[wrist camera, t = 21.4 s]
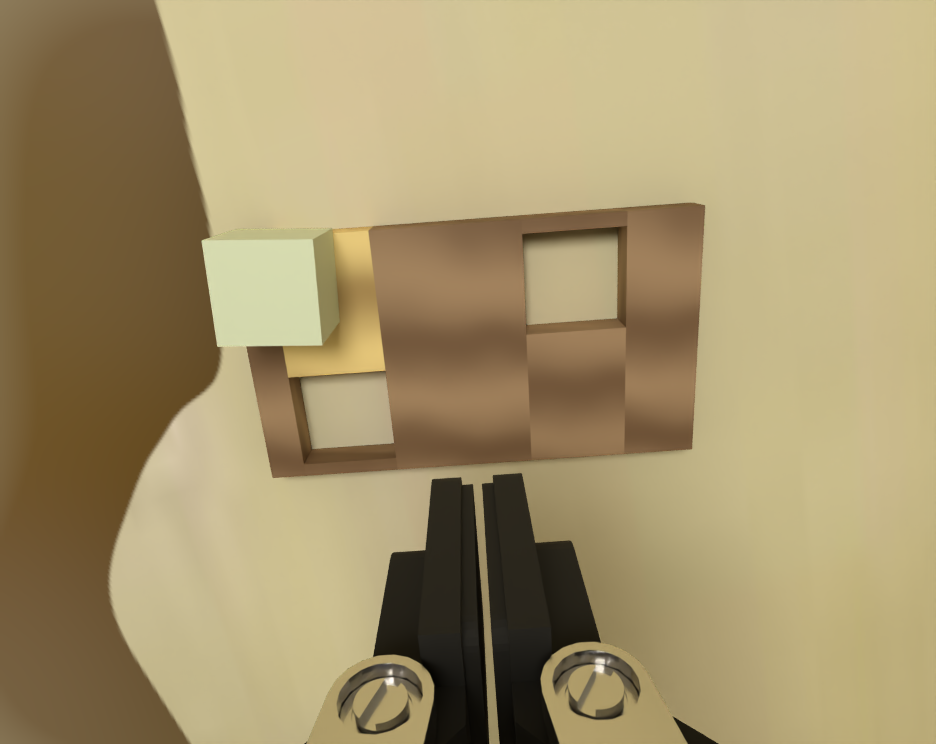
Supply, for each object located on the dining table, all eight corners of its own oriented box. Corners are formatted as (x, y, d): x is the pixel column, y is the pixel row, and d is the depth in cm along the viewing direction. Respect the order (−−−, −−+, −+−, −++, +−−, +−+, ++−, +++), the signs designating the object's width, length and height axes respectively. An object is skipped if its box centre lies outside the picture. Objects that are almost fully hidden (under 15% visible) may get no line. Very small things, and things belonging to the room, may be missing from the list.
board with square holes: (680, 434, 38) (691, 449, 37) (281, 462, 39) (272, 478, 37) (691, 202, 34) (705, 205, 32) (238, 236, 34) (225, 241, 32)
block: (339, 321, 34) (322, 345, 30) (248, 322, 34) (217, 346, 30) (332, 228, 32) (312, 239, 28) (236, 228, 32) (201, 240, 28)
